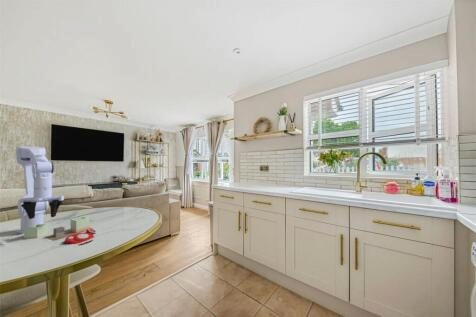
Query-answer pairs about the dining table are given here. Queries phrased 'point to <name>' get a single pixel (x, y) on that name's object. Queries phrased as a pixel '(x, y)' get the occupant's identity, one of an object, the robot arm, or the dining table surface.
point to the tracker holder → (80, 237)
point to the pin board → (66, 233)
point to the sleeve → (36, 231)
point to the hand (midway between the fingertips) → (42, 217)
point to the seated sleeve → (80, 224)
